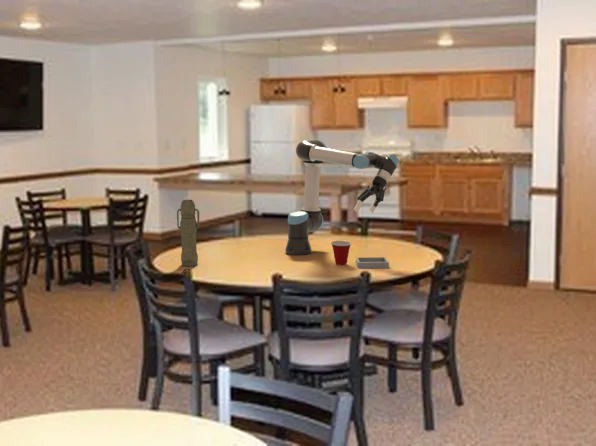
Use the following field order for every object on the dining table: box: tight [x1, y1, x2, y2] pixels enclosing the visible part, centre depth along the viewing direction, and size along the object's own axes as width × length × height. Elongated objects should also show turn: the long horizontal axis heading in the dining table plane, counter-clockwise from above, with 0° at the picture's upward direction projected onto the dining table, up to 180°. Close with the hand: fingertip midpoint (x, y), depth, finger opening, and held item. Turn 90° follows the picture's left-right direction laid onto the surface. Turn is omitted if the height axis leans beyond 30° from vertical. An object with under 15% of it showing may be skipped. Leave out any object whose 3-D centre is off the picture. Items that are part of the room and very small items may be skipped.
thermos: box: [176, 199, 200, 268], centre depth 426 cm, size 9×12×35 cm
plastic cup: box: [331, 240, 352, 266], centre depth 424 cm, size 11×11×12 cm
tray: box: [355, 256, 390, 269], centre depth 422 cm, size 16×16×3 cm
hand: (363, 211), depth 432 cm, fingers open, 13 cm apart
